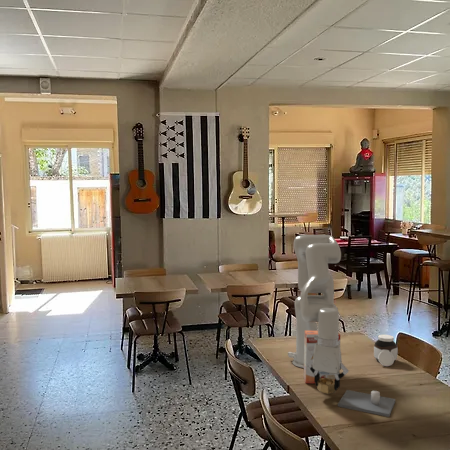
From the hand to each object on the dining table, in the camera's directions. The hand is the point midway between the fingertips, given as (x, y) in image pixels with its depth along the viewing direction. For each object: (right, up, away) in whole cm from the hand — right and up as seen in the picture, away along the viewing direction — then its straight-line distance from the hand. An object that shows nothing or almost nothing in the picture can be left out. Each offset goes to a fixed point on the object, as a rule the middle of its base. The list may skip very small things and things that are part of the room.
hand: (326, 386), depth 180 cm
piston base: (+14, -5, -5) cm, 15 cm away
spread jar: (+36, -2, +39) cm, 53 cm away
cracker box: (+1, -4, +17) cm, 17 cm away
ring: (0, -1, 0) cm, 1 cm away
